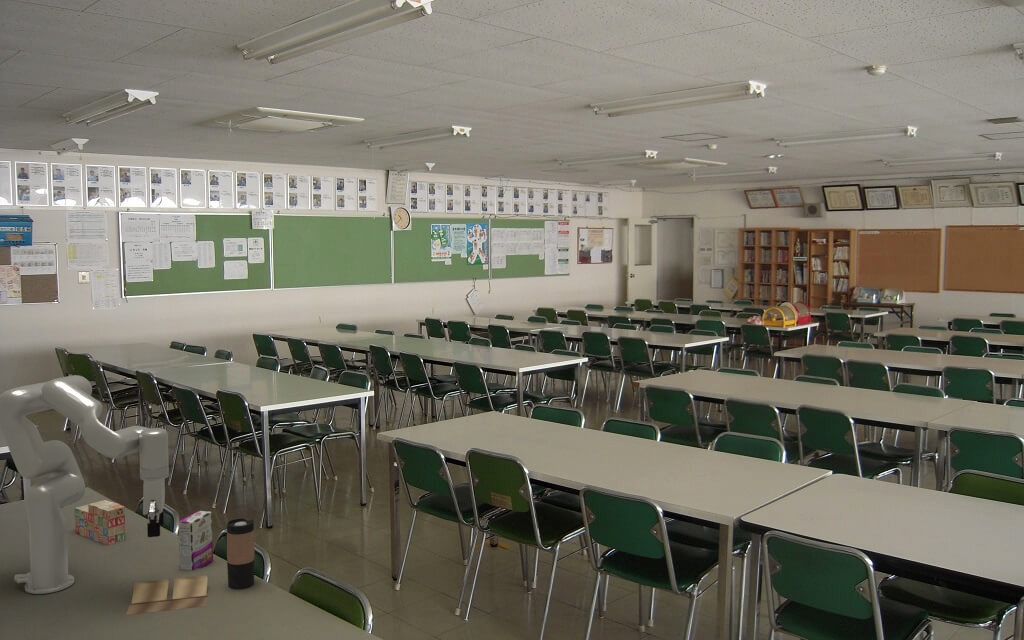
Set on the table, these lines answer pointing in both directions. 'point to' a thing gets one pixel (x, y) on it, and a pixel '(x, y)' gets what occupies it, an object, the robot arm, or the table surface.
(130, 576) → the table surface
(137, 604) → the laid board
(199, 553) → the candy bar box
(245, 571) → the travel mug
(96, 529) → the stack of blocks
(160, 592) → the plank
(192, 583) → the plank
